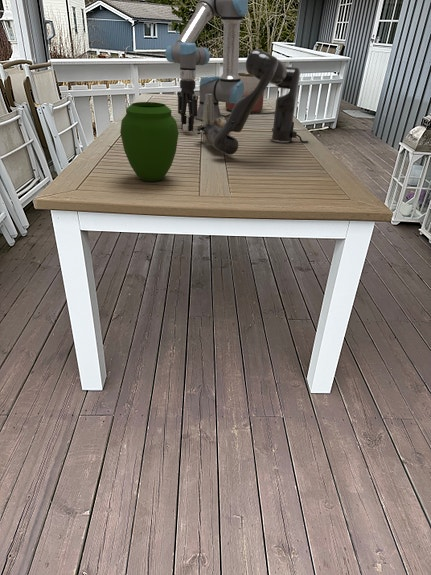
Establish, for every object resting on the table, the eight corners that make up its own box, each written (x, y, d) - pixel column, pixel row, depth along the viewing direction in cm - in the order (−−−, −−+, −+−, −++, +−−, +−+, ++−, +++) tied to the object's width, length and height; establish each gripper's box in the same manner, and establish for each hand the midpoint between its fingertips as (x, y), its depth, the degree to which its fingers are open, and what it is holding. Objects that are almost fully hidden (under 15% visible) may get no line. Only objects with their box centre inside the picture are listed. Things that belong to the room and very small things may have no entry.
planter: (266, 114, 273) (270, 77, 261) (229, 113, 269) (231, 75, 257) (257, 107, 294) (260, 73, 283) (222, 107, 290) (224, 72, 278)
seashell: (228, 132, 219) (229, 116, 215) (229, 134, 214) (230, 118, 210) (210, 131, 218) (211, 115, 213) (211, 134, 213) (212, 117, 209)
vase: (131, 189, 135) (125, 110, 122) (118, 172, 150) (112, 100, 137) (186, 184, 142) (187, 109, 129) (169, 168, 157) (167, 99, 144)
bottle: (209, 140, 201) (211, 93, 189) (214, 143, 197) (216, 94, 186) (200, 141, 198) (201, 93, 187) (205, 143, 195) (206, 94, 184)
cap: (181, 129, 211) (181, 124, 210) (189, 128, 213) (189, 123, 212) (184, 131, 208) (184, 125, 207) (193, 130, 210) (193, 125, 208)
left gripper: (170, 78, 201) (170, 127, 214) (194, 82, 191) (193, 134, 203) (181, 77, 206) (181, 126, 218) (205, 81, 195) (204, 132, 208)
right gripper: (231, 126, 182) (221, 118, 196) (200, 126, 179) (191, 118, 193) (230, 143, 186) (220, 135, 200) (199, 143, 183) (191, 135, 197)
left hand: (187, 130), depth 211 cm, fingers closed on cap, 5 cm apart
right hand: (206, 127), depth 196 cm, fingers closed on bottle, 5 cm apart
